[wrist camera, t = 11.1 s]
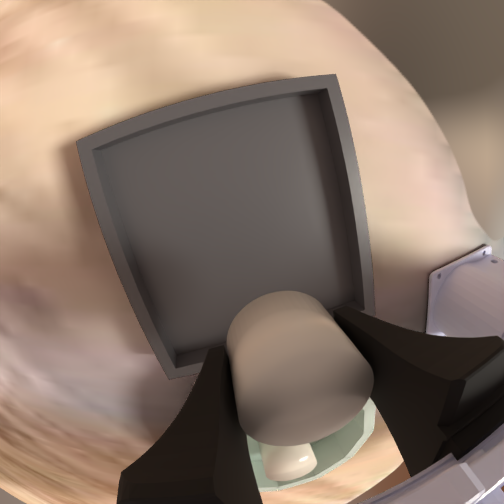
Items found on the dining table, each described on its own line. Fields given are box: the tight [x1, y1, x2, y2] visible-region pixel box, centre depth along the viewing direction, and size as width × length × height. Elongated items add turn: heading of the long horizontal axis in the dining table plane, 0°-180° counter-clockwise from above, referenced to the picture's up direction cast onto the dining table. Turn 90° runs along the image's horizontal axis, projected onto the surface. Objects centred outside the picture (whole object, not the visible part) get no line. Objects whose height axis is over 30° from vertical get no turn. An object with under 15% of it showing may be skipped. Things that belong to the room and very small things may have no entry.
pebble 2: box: [258, 442, 317, 481], centre depth 21 cm, size 4×4×4 cm
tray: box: [76, 74, 375, 380], centre depth 17 cm, size 15×16×2 cm
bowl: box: [247, 397, 376, 492], centre depth 21 cm, size 16×16×4 cm
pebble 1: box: [227, 291, 374, 446], centre depth 10 cm, size 4×4×4 cm
